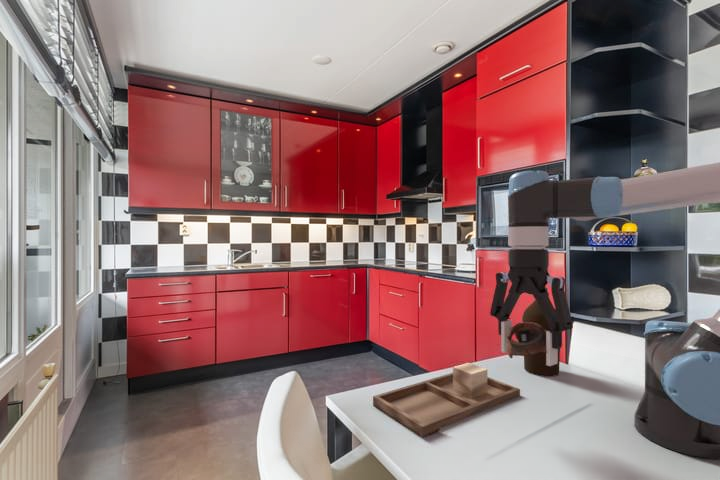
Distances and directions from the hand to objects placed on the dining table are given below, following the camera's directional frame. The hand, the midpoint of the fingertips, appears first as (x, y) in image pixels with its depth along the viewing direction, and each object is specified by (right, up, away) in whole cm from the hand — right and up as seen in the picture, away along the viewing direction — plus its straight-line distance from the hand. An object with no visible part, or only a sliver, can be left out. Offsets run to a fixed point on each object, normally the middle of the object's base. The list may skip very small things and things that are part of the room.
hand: (528, 357), depth 75 cm
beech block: (-6, -15, +19) cm, 25 cm away
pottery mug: (+1, -1, +1) cm, 2 cm away
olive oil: (+20, -16, +35) cm, 43 cm away
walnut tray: (-13, -15, +14) cm, 25 cm away
